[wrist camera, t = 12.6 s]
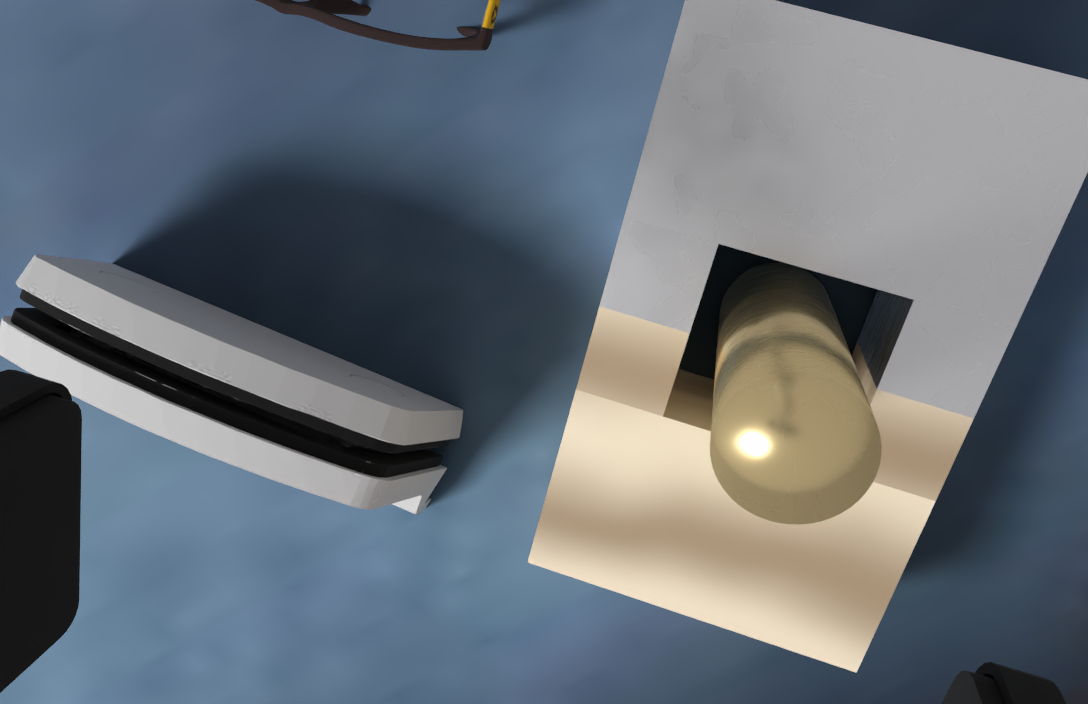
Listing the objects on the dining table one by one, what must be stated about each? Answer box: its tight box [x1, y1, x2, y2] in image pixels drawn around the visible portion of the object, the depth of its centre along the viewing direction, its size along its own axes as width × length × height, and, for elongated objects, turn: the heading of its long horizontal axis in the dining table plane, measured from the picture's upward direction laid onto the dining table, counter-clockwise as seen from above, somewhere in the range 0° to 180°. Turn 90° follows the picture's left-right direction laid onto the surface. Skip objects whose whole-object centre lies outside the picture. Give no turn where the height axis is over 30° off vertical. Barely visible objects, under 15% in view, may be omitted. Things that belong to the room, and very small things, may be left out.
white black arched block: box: [0, 254, 463, 514], centre depth 34 cm, size 17×5×10 cm, turn 71°
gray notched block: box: [600, 0, 1088, 418], centre depth 29 cm, size 10×12×5 cm
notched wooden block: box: [528, 306, 974, 673], centre depth 32 cm, size 10×12×5 cm
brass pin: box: [710, 263, 882, 525], centre depth 27 cm, size 4×4×12 cm
